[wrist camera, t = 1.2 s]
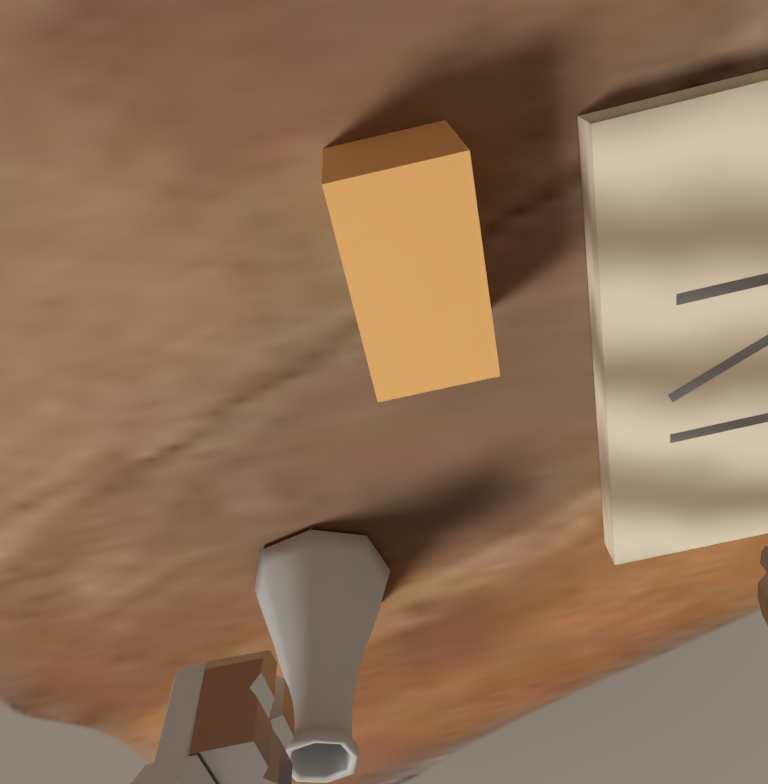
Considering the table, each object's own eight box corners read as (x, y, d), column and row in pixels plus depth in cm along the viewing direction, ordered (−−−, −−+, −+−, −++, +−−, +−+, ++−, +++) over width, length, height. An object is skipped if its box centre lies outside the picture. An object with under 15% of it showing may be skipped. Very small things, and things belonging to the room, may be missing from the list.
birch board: (577, 116, 24) (591, 123, 23) (916, 31, 24) (949, 35, 22) (604, 544, 36) (615, 565, 35) (832, 495, 35) (851, 515, 34)
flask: (381, 515, 34) (399, 697, 25) (397, 612, 38) (417, 797, 29) (239, 535, 34) (208, 722, 25) (269, 629, 38) (251, 819, 29)
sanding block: (323, 147, 24) (322, 184, 20) (444, 119, 24) (470, 150, 20) (370, 339, 29) (377, 402, 24) (474, 316, 28) (500, 376, 24)
